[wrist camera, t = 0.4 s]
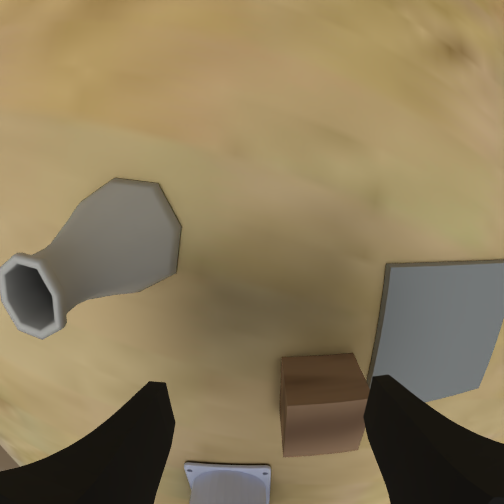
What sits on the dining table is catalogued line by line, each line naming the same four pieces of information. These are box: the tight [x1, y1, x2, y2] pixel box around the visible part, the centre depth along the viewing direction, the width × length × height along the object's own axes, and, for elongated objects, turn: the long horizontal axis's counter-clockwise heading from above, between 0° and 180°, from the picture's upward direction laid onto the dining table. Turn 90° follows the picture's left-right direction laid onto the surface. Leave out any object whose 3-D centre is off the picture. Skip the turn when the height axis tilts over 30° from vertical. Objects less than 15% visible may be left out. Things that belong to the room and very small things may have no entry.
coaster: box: [367, 260, 504, 402], centre depth 19 cm, size 12×12×1 cm
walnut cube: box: [280, 353, 370, 457], centre depth 19 cm, size 5×5×5 cm
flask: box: [0, 178, 181, 339], centre depth 13 cm, size 7×7×10 cm
